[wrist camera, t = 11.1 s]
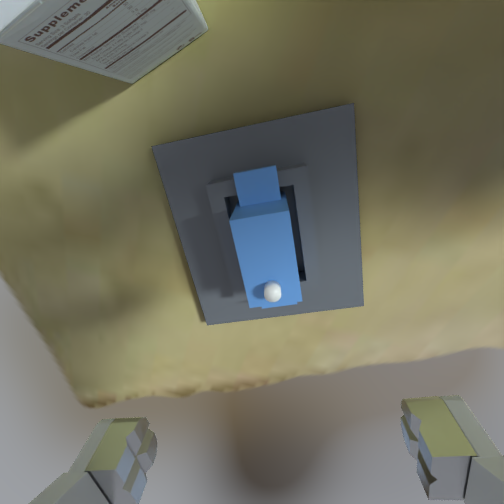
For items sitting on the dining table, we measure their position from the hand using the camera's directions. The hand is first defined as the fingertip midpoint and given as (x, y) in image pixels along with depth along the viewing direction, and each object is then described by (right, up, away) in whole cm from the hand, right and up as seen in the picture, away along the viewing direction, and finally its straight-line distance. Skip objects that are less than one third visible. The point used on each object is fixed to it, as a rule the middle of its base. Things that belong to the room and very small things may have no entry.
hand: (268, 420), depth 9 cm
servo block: (+1, +7, +16) cm, 18 cm away
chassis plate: (+1, +7, +17) cm, 19 cm away
